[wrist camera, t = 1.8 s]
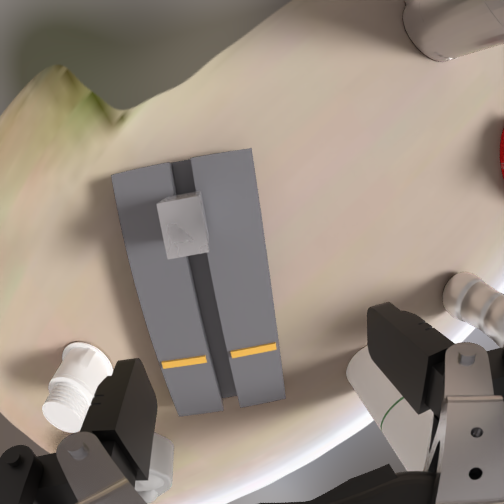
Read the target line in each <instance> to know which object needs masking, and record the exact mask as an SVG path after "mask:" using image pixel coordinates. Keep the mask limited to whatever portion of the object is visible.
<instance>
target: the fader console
mask: <svg viewBox="0 0 504 504" xmlns="http://www.w3.org/2000/svg"><path fill="white" fill-rule="evenodd" d="M111 177H112V183H113V188H114V194H115V199H116V205H117V210H118V215H119V219H120V224H121V229H122V233H123V238H124V242H125V247H126V251H127V255H128V259H129V263H130V267H131V271H132V275H133V279H134V283H135V286H136V290H137V294H138V297H139V301H140V304H141V308H142V311H143V315H144V318H145V321H146V325H147V328H148V331H149V334H150V337H151V341H152V344H153V347H154V350H155V353H156V356H157V359H158V362H159V364H160V367H161V370H162V373H163V376H164V379H165V381H166V384H167V387H168V389H169V392H170V395H171V397H172V400H173V403H174V405H175V408H176V410H177V413H178V415H179V416H188V415H196V414H204V413H211V412H217V411H224V408H223V398H226V397H232V396H238V400H239V404H240V408H242V407H247V406H252V405H258V404H263V403H268V402H272V401H277V400H281V399H286V396H285V388H284V380H283V372H282V364H281V356H280V349H279V341H278V333H277V326H276V318H275V310H274V303H273V296H272V288H271V281H270V273H269V266H268V259H267V252H266V245H265V238H264V230H263V223H262V216H261V209H260V203H259V196H258V189H257V182H256V175H255V168H254V162H253V155H252V148H250V149H243V150H236V151H229V152H223V153H217V154H211V155H205V156H199V157H193V158H191V159H189V160H184V161H178V162H173V163H170V162H167V163H162V164H157V165H152V166H148V167H143V168H139V169H134V170H130V171H126V172H121V173H117V174H113V175H111ZM195 191H201V193H202V199H203V205H204V211H205V216H206V222H207V228H208V233H209V252H207V253H202V254H196V255H190V256H185V257H179V258H174V259H168V258H167V254H166V249H165V245H164V240H163V235H162V230H161V225H160V220H159V215H158V210H157V203H159V202H160V201H162V200H163V199H165V198H166V197H169V196H174V195H179V194H185V193H190V192H195Z"/></svg>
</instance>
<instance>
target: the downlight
mask: <svg viewBox="0 0 504 504" xmlns="http://www.w3.org/2000/svg"><path fill="white" fill-rule="evenodd" d="M112 373H113V368H112V365H111V363H110V361H109V359H108V358H107V356H106V355H105V354H104V353H103V352H102V351H101V350H99V349H98V348H96V347H95V346H93V345H90V344H88V343H84V342H74V343H71V344H69V345H68V346H67V347H66V348H65V349H64V351H63V354H62V363H61V365H60V366H59V368H58V369H57V371H56V373H55V374H54V376H53V378H52V379H51V381H50V383H49V386H48V389H49V393H50V394H49V396H48V397H47V399H46V401H45V403H44V405H43V407H42V411H43V414H44V416H45V417H46V419H47V420H48V421H49V422H50V423H51V424H52V425H53V426H55V427H56V428H58V429H60V430H62V431H65V432H69V433H76V432H78V431H80V429H81V427H82V424H83V422H84V419H85V416H86V414H87V411H88V409H89V406H90V405H91V401H92V399H93V397H94V394H95V392H96V389H97V387H98V385H99V384H100V383H101V382H102V381H103V380H104V379H105V378H106V377H107V376H112Z"/></svg>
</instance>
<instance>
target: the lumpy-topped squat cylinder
mask: <svg viewBox="0 0 504 504" xmlns="http://www.w3.org/2000/svg"><path fill="white" fill-rule="evenodd" d="M173 458H174V445H173V443H172V441H171V440H169V439H168V438H166V437H164V436H162V435H159V434H157V433H155V432H154V436H153V444H152V452H151V460H150V469H149V478H148V480H145V481H136V482H135V490H136V491H137V492H138V493H139V495H140V496H141V497H142V498H143V499H144V501H145V502H146V503H152V502H153V501H154V500H155V499H156V498H157V497H158V496H160V495H161V494H163V493H164V492H166V491H167V490H169V489H170V488H171V486H172V476H173Z"/></svg>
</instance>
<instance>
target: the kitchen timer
mask: <svg viewBox="0 0 504 504" xmlns="http://www.w3.org/2000/svg"><path fill="white" fill-rule="evenodd" d="M500 162H501V169H502V174H503V178H504V129H503V132H502V136H501V143H500Z"/></svg>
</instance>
